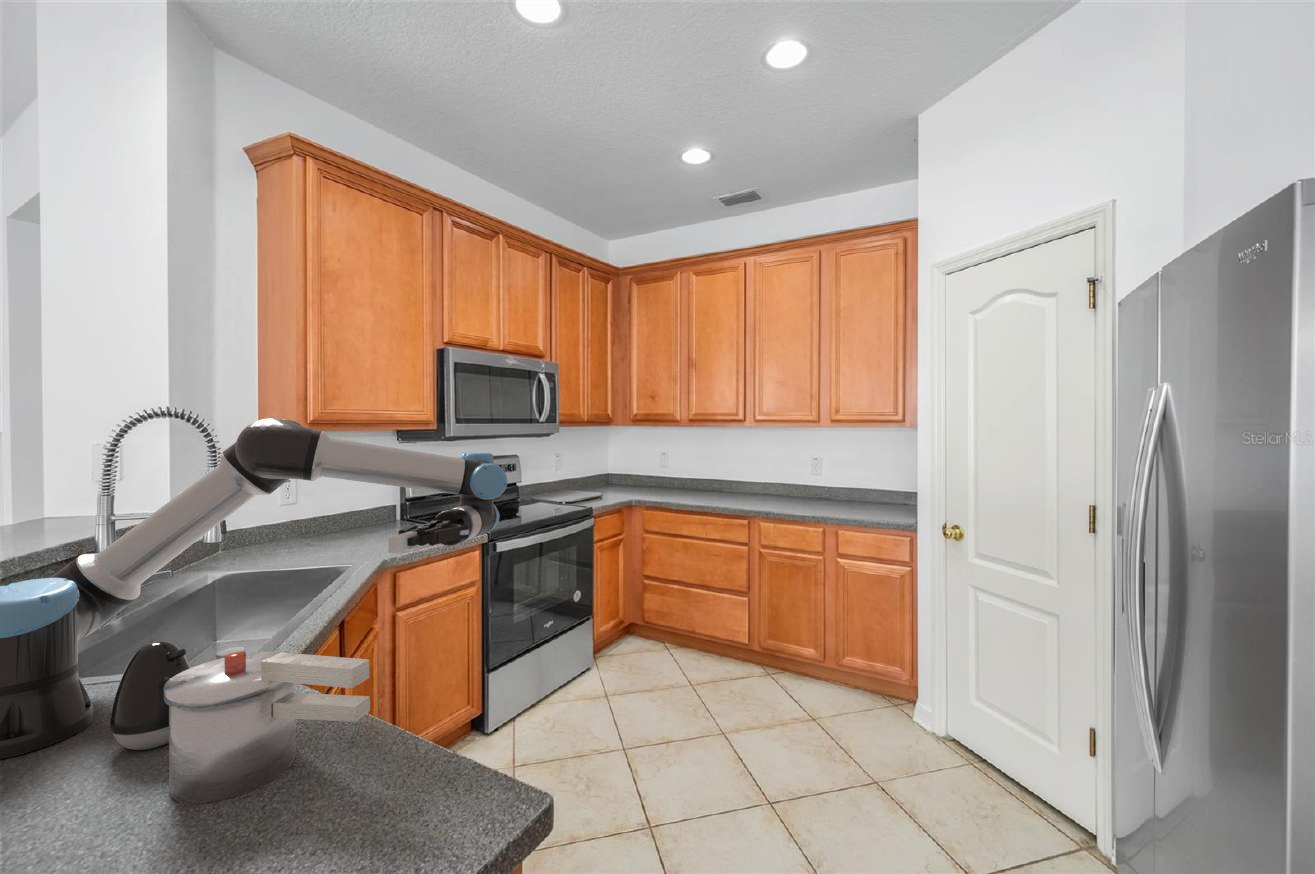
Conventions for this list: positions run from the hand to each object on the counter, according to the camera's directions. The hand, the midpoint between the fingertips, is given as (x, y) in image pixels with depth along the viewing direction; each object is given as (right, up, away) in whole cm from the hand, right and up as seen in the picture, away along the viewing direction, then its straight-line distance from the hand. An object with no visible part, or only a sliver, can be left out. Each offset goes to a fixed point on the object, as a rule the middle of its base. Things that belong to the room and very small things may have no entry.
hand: (392, 544), depth 98 cm
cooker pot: (-6, -28, -21) cm, 35 cm away
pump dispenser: (-31, -28, -12) cm, 43 cm away
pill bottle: (-27, -28, -1) cm, 39 cm away
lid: (-6, -15, -21) cm, 27 cm away
